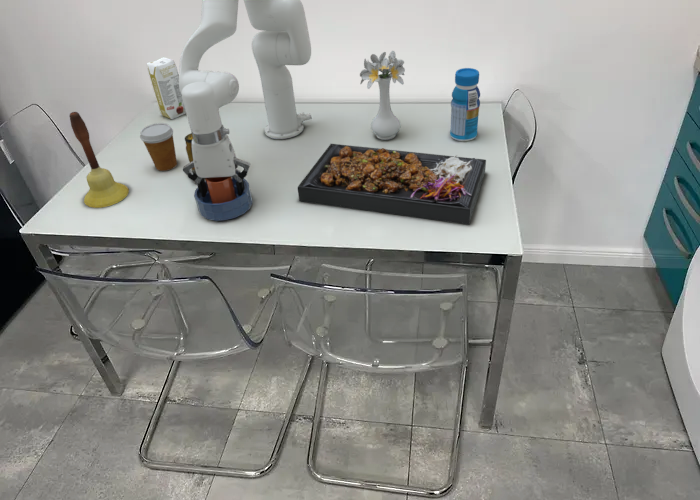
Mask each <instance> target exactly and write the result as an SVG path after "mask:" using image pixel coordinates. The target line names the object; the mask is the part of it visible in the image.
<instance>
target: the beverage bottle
mask: <svg viewBox="0 0 700 500" xmlns="http://www.w3.org/2000/svg"><path fill="white" fill-rule="evenodd" d="M479 81H480V71H479V70H478V69H477V68H471V67H463V68H459V69H456V71H455V75H454V83H455V86H454V88H453V90H452V92H451V101H450V130H449V135H450V137H451V138H452V139H453V140H455V141H459V142H469V141H472V140H475V139H476V138H477V136H478V127H479V116H480V107H481V100H480V98H481V90H480V88H479V86H478V84H479V83H480V82H479Z"/></svg>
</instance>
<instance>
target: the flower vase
mask: <svg viewBox="0 0 700 500" xmlns="http://www.w3.org/2000/svg"><path fill="white" fill-rule="evenodd" d="M386 55H387V52H386V51H384V52H382V53H381V54H380V55H379V57H378V55H376V53H372V54H371V55H370V61H369V60H367V59H366V58H364V60H363V67H364V69H362V70H361V71H360V72H359V77H361V80H360V85H362V84H363V82H364V81H368V82H367V84H366V88H367V89H368V90H370V88H372V86H373V84H374V83H378V89H379V90H378V92H379V106H378V111H377V114H376V115H375V117H373V119H372V121H371V122H370V130H371V131H372V133H373V134H374V135H375V137H376V138H377V139H379V140H383V141H388V140H392V139H394V138H395V137H396V135H397V133H399V131H400V130H401V128H402V124H401V121H400V119H399V118H398V117H397V115H395V114H394V113H393V110H392V107H391V96H390V87H391V80H392V83H393V84H396V83H397V82H398V83H399V84H400V85H404V84H405V83H404V79H403V77H402V76H405V72H406V69H405V67H404V64H405V61H404V60H403V59H401V58H400V59H398V58H397V57H396V52H395V50H391V51H390V53H389V55H388V57H386ZM379 72H381V73H379ZM401 75H402V76H401Z"/></svg>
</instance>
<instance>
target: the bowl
mask: <svg viewBox="0 0 700 500" xmlns="http://www.w3.org/2000/svg"><path fill="white" fill-rule="evenodd" d="M232 178H233V177H232ZM236 181H237V180H235V179H234V178H233V182H234V186H235V191H236V195H237V198H236V199H234V200H232V201H229V202H224V203H215V204H212V202H211V199H210V195H209V191H208V187H207V184H206V187H207V194H206V196H205V197H202V195H201V193H199V189H198V186H196V188H195V190H194V195H193V196H194V200H195V203H196V207H197V210H198V213H199V214H200V217H202V218H204V219H206V220H210V221H214V222H215V221H217V222H218V221H227V220H232V219H235V218H238V217H240V216H242V215H244V214H245V213H246V212H248V211H249V210H250V209H251V207H252V205H253V196H252V192H251V185H250V182H248V180H247V179H246V178H244V179H243V182H244V187H245V190H244V191H243V192H242V195H241V196H239V195H238V191H237V186H236ZM205 183H206V181H205Z"/></svg>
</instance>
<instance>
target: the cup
mask: <svg viewBox="0 0 700 500" xmlns="http://www.w3.org/2000/svg"><path fill="white" fill-rule="evenodd" d="M205 180H206V184H207V187H208V191H209V195H210V199H211V202H212V204H215V203H224V202H229V201H232V200H234V199H236V198H237V195H236V191H235V186H234V182H233V178H232V176H230V177H214V178H205Z"/></svg>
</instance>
